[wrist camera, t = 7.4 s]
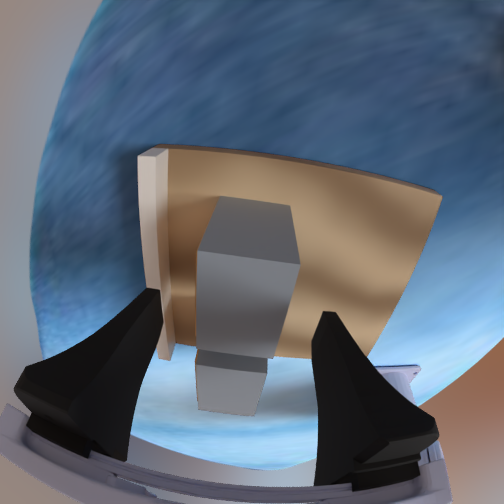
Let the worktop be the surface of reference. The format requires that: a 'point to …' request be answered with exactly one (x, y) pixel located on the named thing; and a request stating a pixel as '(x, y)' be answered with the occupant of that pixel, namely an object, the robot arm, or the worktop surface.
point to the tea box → (245, 277)
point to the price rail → (156, 237)
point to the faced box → (229, 382)
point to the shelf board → (304, 236)
